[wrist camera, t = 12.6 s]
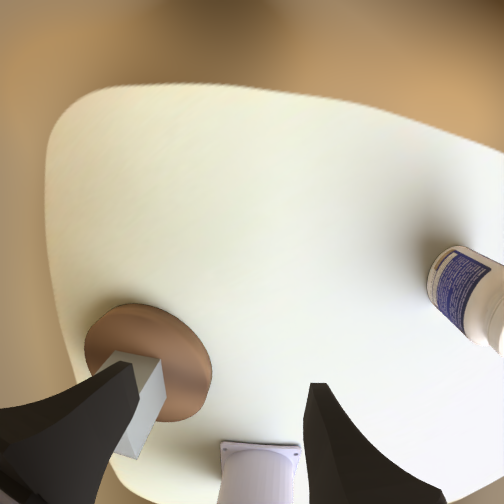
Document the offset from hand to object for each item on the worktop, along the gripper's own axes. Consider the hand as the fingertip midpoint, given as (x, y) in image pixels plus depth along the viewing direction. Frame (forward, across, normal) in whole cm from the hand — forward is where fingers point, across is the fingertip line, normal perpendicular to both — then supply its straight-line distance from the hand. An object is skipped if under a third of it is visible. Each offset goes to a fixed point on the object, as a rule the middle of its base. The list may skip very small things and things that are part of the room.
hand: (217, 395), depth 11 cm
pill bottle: (+11, -16, -2) cm, 19 cm away
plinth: (+10, +8, +7) cm, 15 cm away
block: (+8, +8, +7) cm, 14 cm away
